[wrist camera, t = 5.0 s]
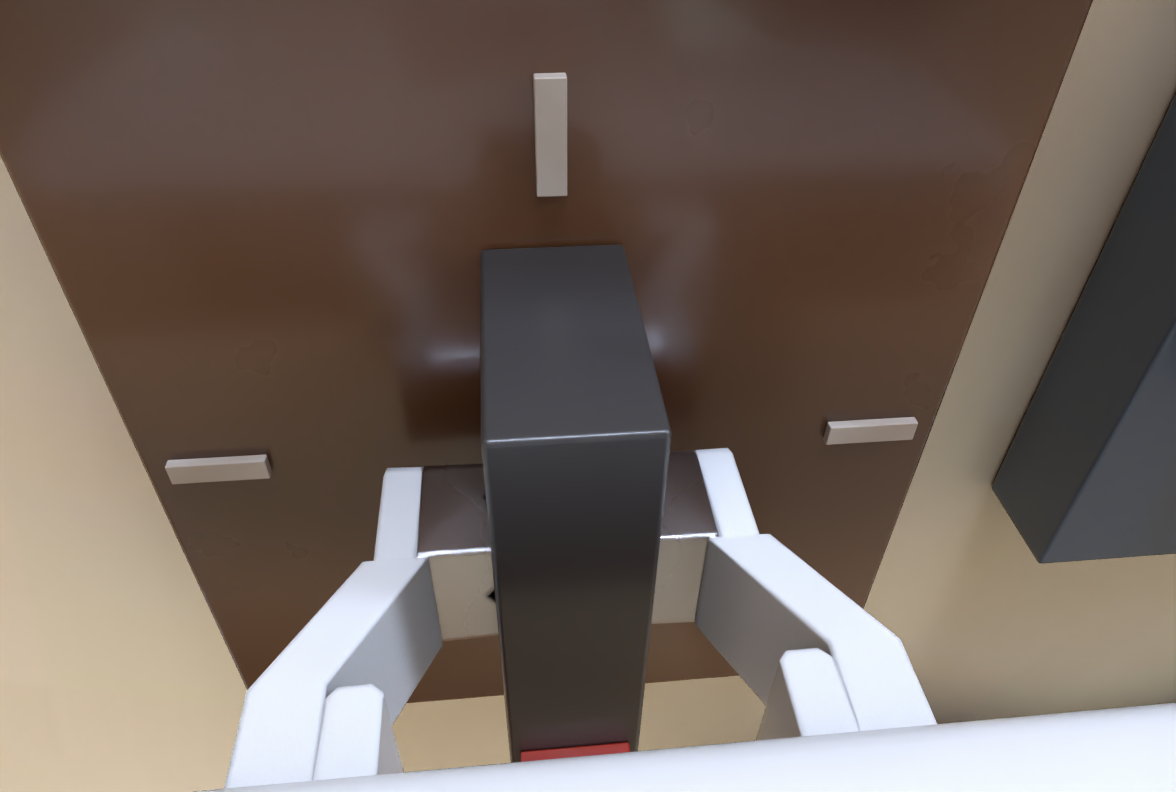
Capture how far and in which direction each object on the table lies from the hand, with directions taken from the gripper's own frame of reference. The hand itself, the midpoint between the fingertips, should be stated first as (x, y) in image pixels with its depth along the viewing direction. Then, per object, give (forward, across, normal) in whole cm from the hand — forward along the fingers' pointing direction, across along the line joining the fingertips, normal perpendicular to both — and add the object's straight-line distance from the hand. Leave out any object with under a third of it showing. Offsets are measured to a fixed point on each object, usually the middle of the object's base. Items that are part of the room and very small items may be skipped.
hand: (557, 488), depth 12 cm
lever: (+1, 0, 0) cm, 1 cm away
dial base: (+4, 0, 0) cm, 4 cm away
